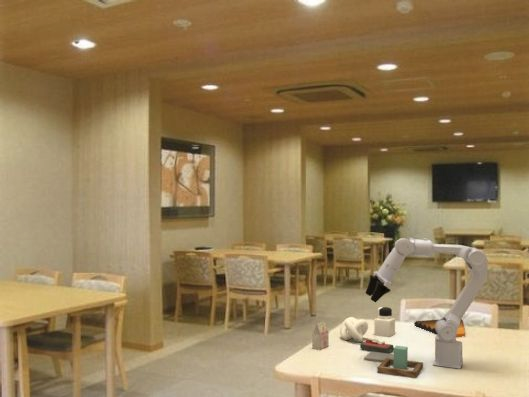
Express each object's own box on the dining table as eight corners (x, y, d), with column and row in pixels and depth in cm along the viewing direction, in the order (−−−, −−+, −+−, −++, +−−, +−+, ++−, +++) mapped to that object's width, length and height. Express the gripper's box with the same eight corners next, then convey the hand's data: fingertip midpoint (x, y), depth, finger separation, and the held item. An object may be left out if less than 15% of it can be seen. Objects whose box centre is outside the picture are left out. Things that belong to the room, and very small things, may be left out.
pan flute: (458, 324, 273) (414, 327, 265) (458, 317, 273) (414, 320, 265) (493, 335, 249) (446, 339, 241) (493, 328, 249) (446, 331, 241)
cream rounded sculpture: (360, 335, 246) (360, 315, 246) (374, 342, 234) (374, 320, 234) (337, 337, 242) (337, 316, 242) (349, 344, 231) (350, 322, 231)
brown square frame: (422, 368, 197) (422, 362, 197) (415, 378, 185) (415, 372, 185) (386, 363, 203) (386, 357, 203) (377, 372, 191) (377, 367, 191)
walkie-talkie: (399, 351, 220) (353, 343, 232) (399, 340, 220) (353, 333, 232) (389, 356, 213) (343, 348, 225) (389, 344, 213) (343, 337, 225)
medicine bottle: (395, 334, 249) (395, 307, 249) (389, 337, 243) (389, 309, 243) (379, 332, 253) (380, 305, 253) (374, 335, 247) (374, 308, 247)
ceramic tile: (397, 356, 211) (397, 354, 211) (390, 363, 202) (390, 361, 202) (371, 353, 216) (371, 351, 216) (364, 359, 207) (364, 357, 207)
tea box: (312, 348, 223) (312, 323, 223) (320, 345, 228) (320, 321, 228) (320, 350, 220) (320, 325, 221) (328, 346, 226) (328, 322, 226)
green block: (407, 369, 195) (407, 346, 195) (405, 372, 191) (405, 349, 191) (396, 368, 197) (396, 345, 197) (393, 371, 193) (393, 348, 193)
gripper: (376, 257, 212) (356, 286, 213) (386, 266, 197) (366, 298, 198) (391, 266, 213) (372, 295, 214) (403, 276, 198) (382, 307, 199)
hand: (370, 297), depth 206 cm, fingers open, 7 cm apart
